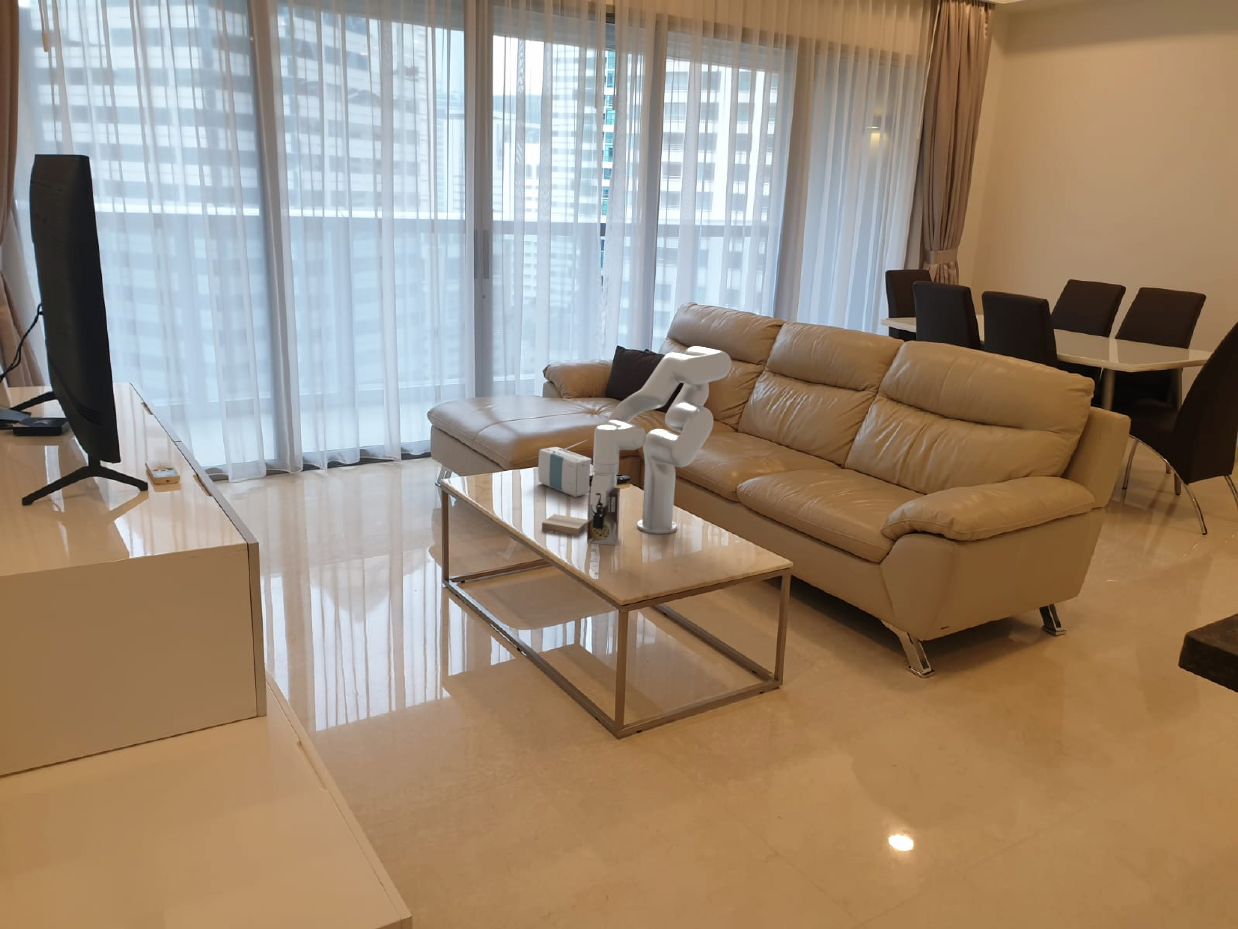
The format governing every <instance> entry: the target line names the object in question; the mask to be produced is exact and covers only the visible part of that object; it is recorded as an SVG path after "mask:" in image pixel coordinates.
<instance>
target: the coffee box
mask: <svg viewBox="0 0 1238 929" xmlns="http://www.w3.org/2000/svg"><path fill="white" fill-rule="evenodd" d="M591 487H592V485H591V486H589V492H588V494H587V520H588V522H587V530H586V531H587V532H586V544H599V545H610V544H615V546H617V544H618V541H619V528H620V527H619V522H620V521H619V519H620V496H621V487H617V488H615V489H614V490H613V491H612V492H611V493H609V497H608V504H607V506H606V507H605V508H604V512H603V516H604V527H603V529H598V528H593V509H592V506H591V505H590V498H591ZM598 505H601V506H602V505H603V504H602V503H600V502H599V504H598ZM598 509H599V510H600V512H601V508H598Z"/></svg>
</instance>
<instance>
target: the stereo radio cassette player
mask: <svg viewBox="0 0 1238 929" xmlns="http://www.w3.org/2000/svg"><path fill="white" fill-rule="evenodd" d="M586 441H589V439H588V438H587V439H586V440H583V441H581V442H577V443H575V444H573V445H571V446H568V447H566V448H561V447H558V446H552V447H547V448H541V449H539V451H538V462H537V463H538V465H537V466H538V468H537V469H538V470H537V473H538V474H537V475H538V482H540V483H541V484H542V485H543V484H544V485H545V486H546V487H549V488H552V489H555V490H556V491H560V492H562V493H565V494H567V495H570V496H571V497H574V498H577V497H580V496H581V497H582V496H584V495H585V494H586V495H588V492H589V490H590V478H591V477H590V475H591V474H590V473H591V465H592V463H593V460H592V458H591V457H588V456H585V455H581V454H578V453H576V452H574V451H573V452H572V451H569V450H568V449H571V448H573V447H575V446H578V445H580V444H582V443H585V442H586Z"/></svg>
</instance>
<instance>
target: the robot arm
mask: <svg viewBox="0 0 1238 929" xmlns="http://www.w3.org/2000/svg"><path fill="white" fill-rule="evenodd" d="M731 369H732V359H731V357H730V355H729V354H728V353H727V352H725V351H723V350H718V349H714V348H708V347H703V346H697V345H695V346H690V347H688V348H687V349H685V352H684V353H680V352H669V353H667V354H665V355H664V356H663V357H662V358H661V360H660V362H659V363H658V364H657V366H656V367H655V368H654V370H653V372H652V373H651V375H650V376H649V378H648V379H647V380H646V382H645V384H644V385H643V386H642V387H641V389H639V390H638V391H635V392H634V393H632V394H631V395H629V396H627V397H626V398H625V399H623V400H622V401H620V402H619V403H618V404H617V405H616V407H615V408H613V411H612V412H611V413H610V415H609V416H608V417H607V419H606V420H605V423H604V424H600V425H597V426H596V427H595V428H594V433H593V434H594V436H593V438H594V439H593V456H592V458H593V460H592V473H593V475H592V480H591V486H592V487H591V486H590V487H591V498H590V505H591V506H592V509H593V528H598V529H603V527H604V516H603V512H604V508H605V507H606V506H607V504H608V497H609V493H611V492H612V491H613V490H614V489H615V488H618V487H617V486H618V485H617V484H618V481H617V477H618V476H617V475H618V474H619V468H620V467H619V466H620V465H619V464H620V463H619V462H620V451H623V450H625V451H636V450H638V449H640V448H642V449H643V450H642V451H643V455H644V456H643V458H644V485H643V500H642V502H643V503H642V514H641V515H642V518H641V519H639V520H638V521H637V522H636V527H637V529H638V530H640V531H642V532H644V533H648V534H656V535H664V534H671V533H674V532H675V531H676V530H677V529H678V525H677V523H676V522H675V521H673V515H674V503H675V502H674V501H675V489H676V488H675V486H676V485H675V484H676V470H675V469H676V467H678V468H685V467H687V466H689V465H690V464H691V463H692V462H693V461H694V459H695V458H696V456H697V455H698V454H699V452H700V450H701V448H702V447H703V445H704V444H705V443H706V440H707V439H708V438H709V436H710V434H711V432H712V430H713V427H714V416H713V413H712V411H711V410H710V409H708V408H707V407H705V406H704V405H705V403H706V402H707V400H708V398H709V396H710V395H709V393H710V387H709V386H710V385H709V383H710V382H714V381H718V380H722V379H723V378H725V377H727V375H728V374H729V372H730V371H731ZM681 383H682V384H683V385H682V388H681V389H680V392H679V393H678V394H677V396H676V397H675V399H674V400H673V402H672V403H671V405H670V406H669V408H668V410H667V412H666V413H665V416H664V421H665V422H664V423H665V425H666V426H667V427H668V429H670V430H673V431H674V432H673V431H670V430H667V429H663V428H656V429H655V428H654V429H652V430H650V431H648V433H646V431H645V429H644V428H642V427H641V426H640V425H638V424H635V423H631V421H632V420H633V419H634V418H635V417H636V416H638V415H640V414H641V413H644V412H647V411H652V410H656V409H659V408H662V407H664V406H665V405H666V404H667V403H668V401H669V399H670V398H671V396H672V395H673V393H674V392H675V391H676V389H677V388H678V386H679V385H680V384H681ZM675 431H676V432H678V433H676V432H675ZM599 502H600V503H602V504H603V505H602V506H601V505H598V504H599ZM598 508H601V512H600V510H599V509H598Z"/></svg>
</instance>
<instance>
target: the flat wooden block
mask: <svg viewBox="0 0 1238 929" xmlns="http://www.w3.org/2000/svg"><path fill="white" fill-rule="evenodd" d="M587 522H588V519H586V518H585V519H584V518H579V517H573V516H567V515H562V514H555V513H554V514H552V515H550V517H548V518H547V519H545V520H544V521H542V522H541V531H545V532H550V531H553V532H552V533H556V532H557V534H562V535H567V534H569V535H568V536H573V535H574V536H575V537H580V535H582V534H583V533H584V532H586V531H587V530H586V529H587ZM574 536H573V537H574Z"/></svg>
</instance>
